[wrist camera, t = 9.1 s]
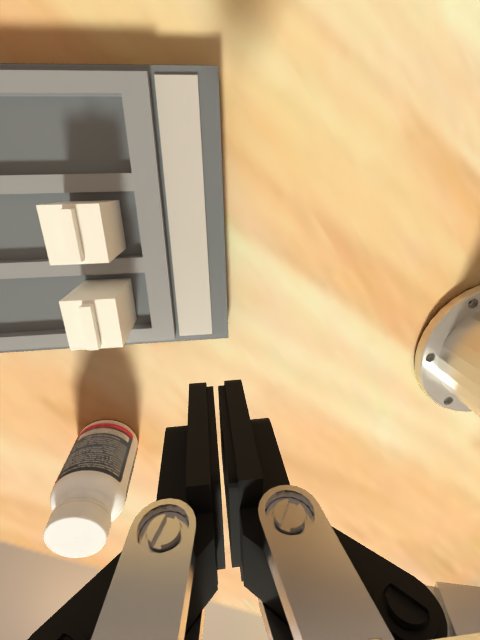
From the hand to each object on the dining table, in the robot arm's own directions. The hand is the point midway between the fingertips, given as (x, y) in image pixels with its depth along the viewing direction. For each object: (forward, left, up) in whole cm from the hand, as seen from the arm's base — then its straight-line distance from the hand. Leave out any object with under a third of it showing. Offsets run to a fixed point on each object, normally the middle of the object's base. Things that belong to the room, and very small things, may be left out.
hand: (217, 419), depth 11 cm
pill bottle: (+10, +14, -16) cm, 24 cm away
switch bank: (+11, -5, -16) cm, 20 cm away
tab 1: (+7, -5, -14) cm, 16 cm away
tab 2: (+7, 0, -14) cm, 15 cm away
